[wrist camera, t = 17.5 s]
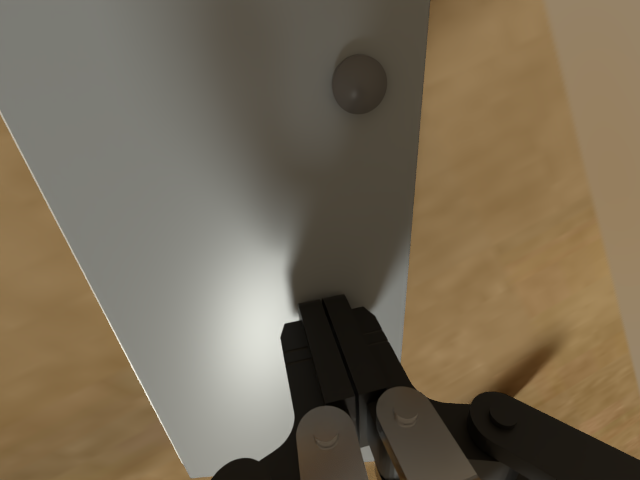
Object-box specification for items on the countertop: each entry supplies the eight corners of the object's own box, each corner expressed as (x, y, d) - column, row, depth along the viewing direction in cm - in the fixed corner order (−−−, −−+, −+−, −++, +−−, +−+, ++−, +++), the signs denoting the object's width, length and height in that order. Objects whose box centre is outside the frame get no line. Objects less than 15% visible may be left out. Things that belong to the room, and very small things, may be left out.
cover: (193, 464, 17) (188, 485, 16) (-44, -24, 7) (-86, -30, 6) (389, 446, 17) (394, 466, 16) (425, -59, 7) (441, -68, 6)
